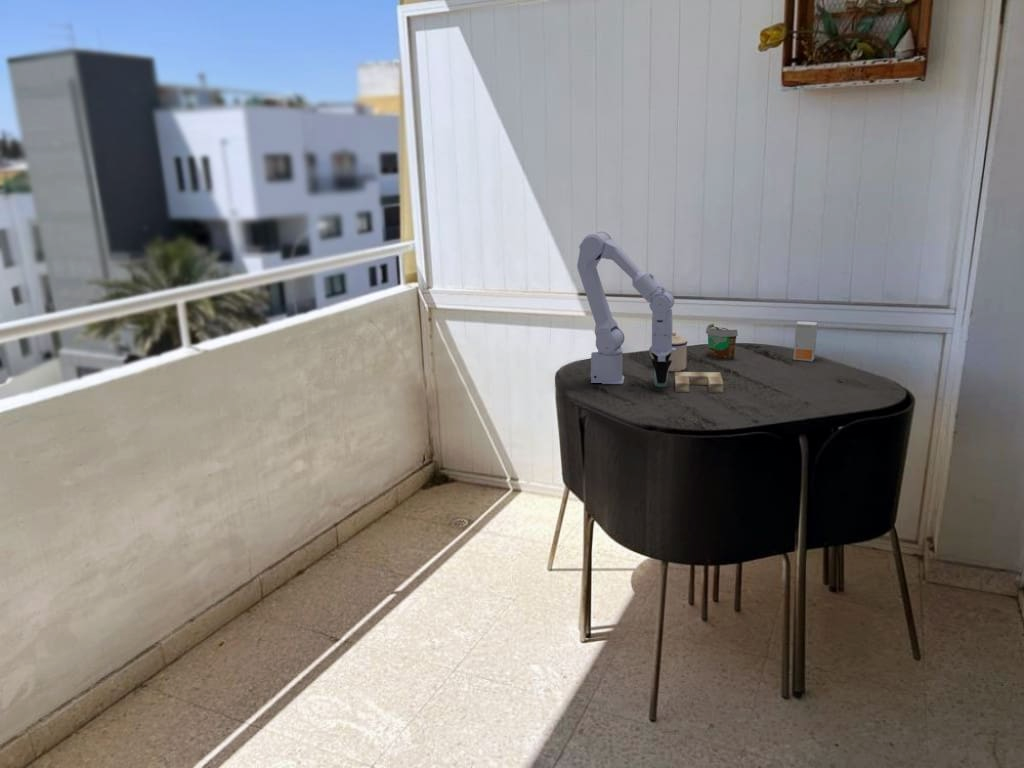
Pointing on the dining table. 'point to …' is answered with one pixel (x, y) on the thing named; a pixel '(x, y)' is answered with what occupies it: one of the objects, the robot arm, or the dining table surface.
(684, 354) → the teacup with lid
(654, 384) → the teal peg
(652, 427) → the dining table surface
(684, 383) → the notched board
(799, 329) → the skincare box
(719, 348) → the food container
